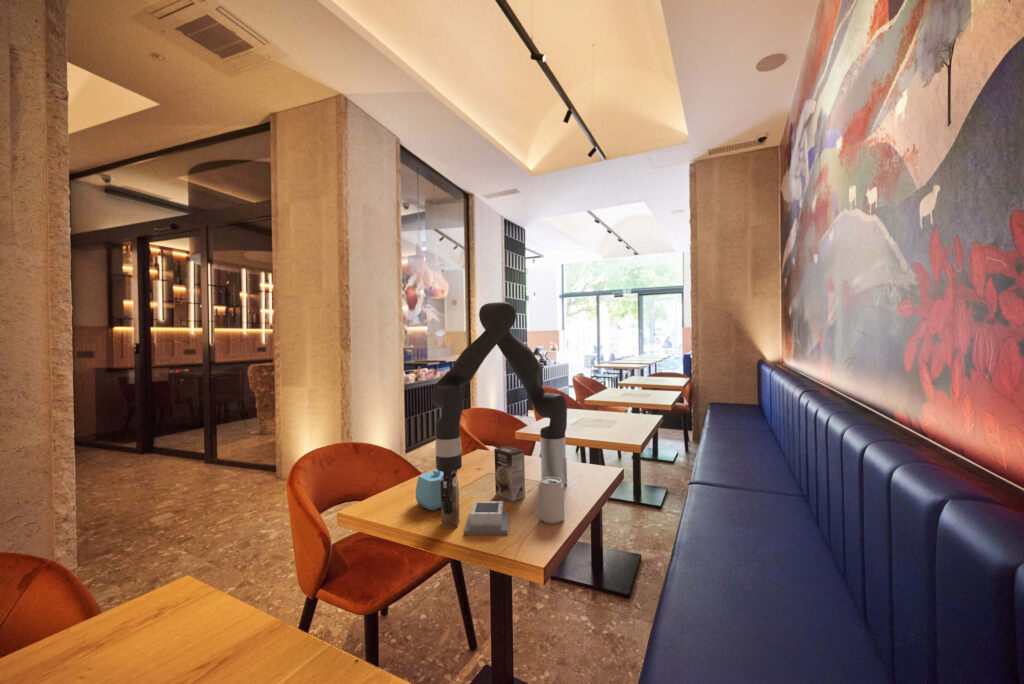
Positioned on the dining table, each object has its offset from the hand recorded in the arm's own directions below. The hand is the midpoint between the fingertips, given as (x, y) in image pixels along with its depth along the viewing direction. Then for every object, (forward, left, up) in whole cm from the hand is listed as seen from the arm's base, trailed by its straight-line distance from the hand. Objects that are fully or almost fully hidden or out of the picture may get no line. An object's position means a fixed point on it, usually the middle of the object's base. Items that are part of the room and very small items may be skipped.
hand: (450, 508), depth 121 cm
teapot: (+6, -14, -5) cm, 16 cm away
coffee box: (-17, -21, -5) cm, 27 cm away
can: (-30, -2, -5) cm, 30 cm away
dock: (-11, +1, -5) cm, 12 cm away
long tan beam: (0, 0, -5) cm, 5 cm away
